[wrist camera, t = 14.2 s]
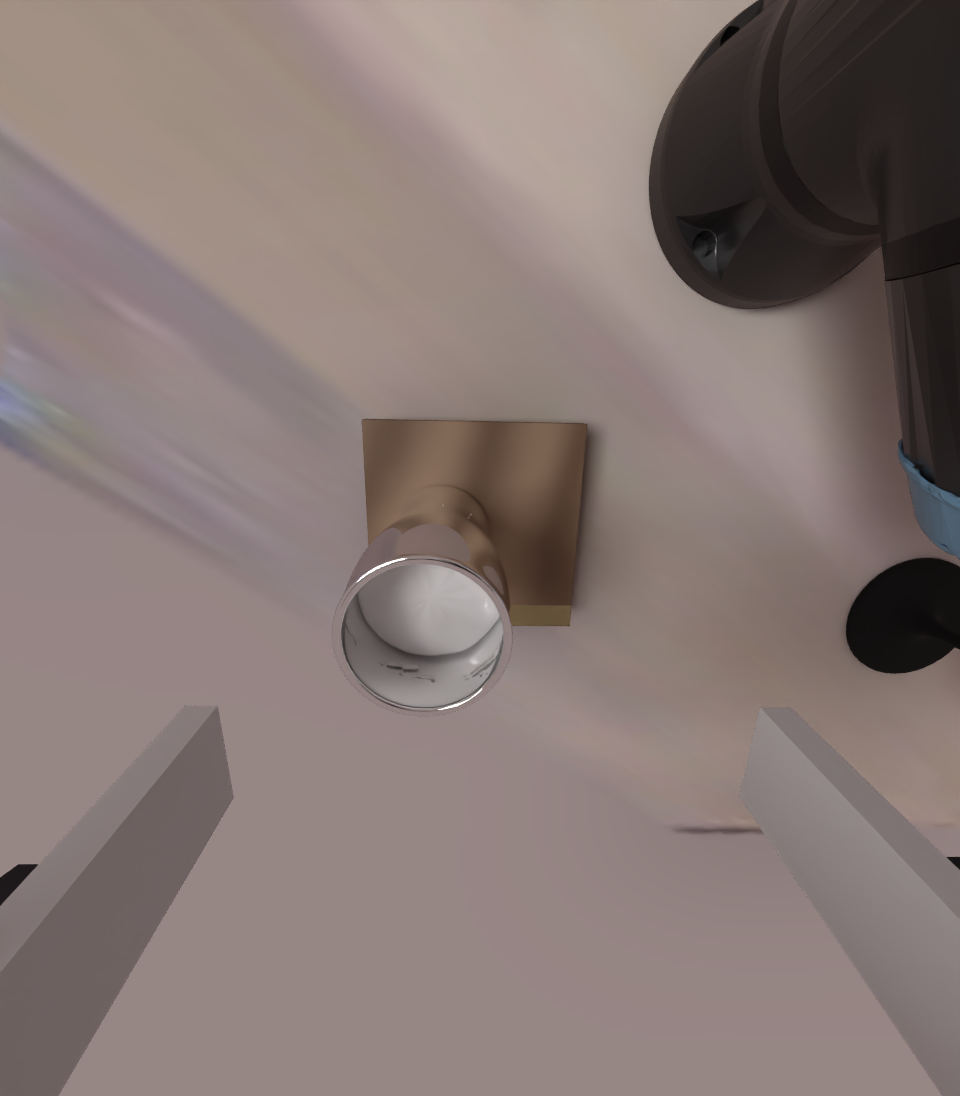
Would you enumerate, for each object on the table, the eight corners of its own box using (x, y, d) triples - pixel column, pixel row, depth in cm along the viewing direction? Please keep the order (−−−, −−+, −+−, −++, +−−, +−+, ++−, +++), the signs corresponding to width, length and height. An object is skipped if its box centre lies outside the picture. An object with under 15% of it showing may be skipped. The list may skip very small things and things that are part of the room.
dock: (573, 421, 33) (587, 424, 29) (559, 603, 38) (569, 626, 34) (373, 417, 33) (361, 419, 29) (382, 601, 37) (372, 624, 33)
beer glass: (494, 578, 32) (517, 720, 18) (393, 580, 32) (335, 724, 18) (494, 477, 30) (520, 548, 16) (386, 479, 30) (314, 551, 16)
